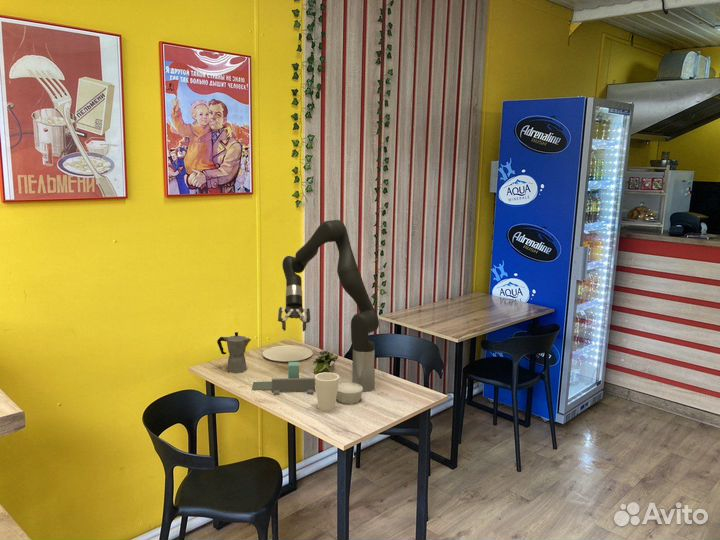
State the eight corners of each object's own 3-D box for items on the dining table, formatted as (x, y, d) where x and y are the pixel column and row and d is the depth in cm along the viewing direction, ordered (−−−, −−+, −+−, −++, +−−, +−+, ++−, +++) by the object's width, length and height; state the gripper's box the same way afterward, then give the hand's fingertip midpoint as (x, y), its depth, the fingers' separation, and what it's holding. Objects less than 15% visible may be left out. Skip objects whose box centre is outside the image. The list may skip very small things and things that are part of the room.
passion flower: (323, 379, 264) (333, 356, 268) (336, 382, 255) (346, 358, 259) (305, 369, 258) (315, 346, 262) (317, 372, 250) (328, 347, 254)
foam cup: (309, 407, 219) (310, 376, 217) (327, 401, 226) (328, 370, 223) (325, 415, 213) (326, 382, 210) (343, 408, 219) (344, 377, 217)
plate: (295, 345, 298) (295, 342, 298) (322, 357, 279) (322, 354, 279) (253, 353, 282) (253, 350, 282) (279, 367, 263) (279, 364, 263)
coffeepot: (252, 366, 263) (252, 329, 260) (249, 373, 254) (249, 335, 251) (220, 366, 263) (219, 329, 260) (215, 373, 254) (214, 334, 250)
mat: (274, 382, 244) (274, 381, 244) (273, 390, 236) (273, 389, 235) (253, 382, 243) (253, 381, 243) (251, 390, 235) (251, 389, 234)
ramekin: (367, 398, 230) (368, 386, 229) (352, 407, 220) (352, 395, 219) (345, 392, 236) (345, 380, 235) (329, 400, 227) (329, 388, 226)
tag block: (299, 383, 243) (299, 361, 242) (299, 388, 239) (299, 365, 237) (288, 384, 243) (288, 362, 241) (288, 388, 238) (288, 365, 236)
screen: (315, 390, 237) (315, 377, 236) (315, 394, 232) (315, 381, 231) (272, 391, 235) (272, 378, 234) (271, 395, 230) (271, 382, 229)
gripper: (279, 292, 251) (279, 327, 244) (310, 294, 254) (311, 328, 247) (277, 299, 257) (277, 332, 250) (308, 300, 261) (308, 333, 254)
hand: (294, 330), depth 249 cm, fingers open, 8 cm apart
